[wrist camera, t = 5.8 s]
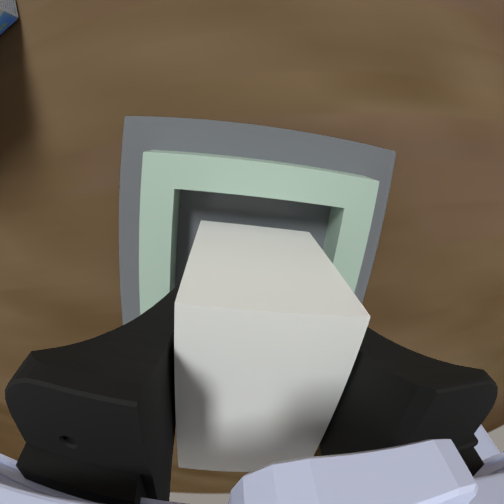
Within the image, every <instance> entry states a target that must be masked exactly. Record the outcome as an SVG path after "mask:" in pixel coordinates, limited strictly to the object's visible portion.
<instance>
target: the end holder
mask: <svg viewBox="0 0 504 504" xmlns="http://www.w3.org/2000/svg"><path fill="white" fill-rule="evenodd" d="M395 156H396V151H392V150H388V149H384V148H380V147H376V146H372V145H367V144H363V143H358V142H354V141H349V140H344V139H339V138H334V137H329V136H324V135H318V134H313V133H307V132H301V131H295V130H289V129H282V128H275V127H268V126H260V125H253V124H244V123H235V122H226V121H215V120H203V119H190V118H173V117H149V116H125V120H124V130H123V142H122V155H121V171H120V194H119V266H120V290H121V306H122V319H123V325H125V324H126V323H128V322H130V321H132V320H134V319H135V318H137V317H138V316H140V315H141V314H143V313H144V312H145V311H147V310H148V309H150V308H151V307H152V306H154V305H155V304H156V303H157V302H159V301H160V300H161V299H162V298H163V297H165V296H166V295H167V294H168V293H169V292H170V291H171V290H172V289H174V288H175V287H176V286H177V285H180V284H181V280H182V277H183V274H184V271H185V268H186V264H187V261H188V258H189V255H190V252H191V249H192V246H193V243H194V240H195V237H196V234H197V231H198V228H199V225H200V222H201V220H203V221H213V222H223V223H233V224H242V225H252V226H261V227H270V228H279V229H288V230H297V231H305V232H310V234H311V235H312V236H313V238H314V239H315V240H316V242H317V243H318V244H319V246H320V247H321V248H322V250H323V251H324V253H325V254H326V255H327V257H328V258H329V259H330V261H331V262H332V263H333V265H334V266H335V267H336V269H337V270H338V272H339V273H340V274H341V276H342V277H343V278H344V280H345V281H346V283H347V284H348V285H349V287H350V288H351V290H352V291H353V292H354V294H355V295H356V297H357V298H358V300H359V301H360V302H361V304H362V302H363V298H364V295H365V291H366V288H367V284H368V281H369V277H370V273H371V269H372V266H373V262H374V258H375V254H376V250H377V246H378V241H379V237H380V233H381V228H382V224H383V219H384V215H385V210H386V205H387V200H388V195H389V190H390V185H391V179H392V174H393V168H394V162H395Z"/></svg>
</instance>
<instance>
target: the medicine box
mask: <svg viewBox="0 0 504 504" xmlns="http://www.w3.org/2000/svg"><path fill="white" fill-rule="evenodd" d="M17 19H18V12H17V7H16V1H15V0H0V34H2V33H3V32H4V31H5V30H6V29H7V28H8V27H9V26H11V25H12V24H13V23H14V22H15V21H16V20H17Z"/></svg>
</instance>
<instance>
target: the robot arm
mask: <svg viewBox="0 0 504 504" xmlns="http://www.w3.org/2000/svg"><path fill="white" fill-rule="evenodd" d="M179 287H180V285H177V286H176V287H175V288H174V289H172V290H171V291H170V292H169V293H168V294H167V295H166V296H165V297H163V298H162V299H161V300H160V301H159V302H157V303H156V304H155V305H154V306H152V307H151V308H150V309H148V310H147V311H145V312H144V313H143V314H141V315H140V316H138V317H137V318H135V319H134V320H132V321H130V322H128V323H126V324H125V325H123V326H121V327H119V328H117V329H115V330H112V331H110V332H107V333H105V334H102V335H100V336H97V337H95V338H92V339H89V340H86V341H83V342H79V343H75V344H71V345H67V346H63V347H57V348H51V349H44V350H37V351H31V353H30V354H29V355H28V356H27V358H26V359H25V360H24V362H23V363H22V364H21V366H20V367H19V369H18V370H17V371H16V373H15V374H14V376H13V377H12V379H11V380H10V381H9V383H8V385H7V387H6V389H5V400H6V403H7V405H8V408H9V411H10V413H11V415H12V417H13V419H14V421H15V423H16V425H17V427H18V429H19V431H20V432H21V434H22V436H23V438H24V440H25V441H26V444H25V447H24V449H23V451H22V453H21V455H20V457H19V459H18V461H17V460H14V459H12V458H10V457H7V456H5V455H3V454H1V453H0V504H185V503H177V502H169V495H170V480H171V466H172V455H173V445H174V435H175V426H176V412H175V379H174V308H175V300H176V297H177V293H178V290H179ZM497 390H498V387H497V385H496V383H495V382H494V381H493V379H492V378H491V377H490V376H489V375H488V374H487V373H486V372H485V371H484V370H481V369H475V368H470V367H464V366H459V365H454V364H450V363H447V362H443V361H439V360H436V359H433V358H430V357H427V356H424V355H422V354H419V353H416V352H414V351H411V350H409V349H407V348H404V347H402V346H400V345H398V344H396V343H394V342H392V341H390V340H388V339H387V338H385V337H383V336H381V335H379V334H378V333H376V332H375V331H373V330H371V329H370V328H368V327H367V329H366V332H365V335H364V338H363V340H362V343H361V346H360V349H359V352H358V354H357V357H356V360H355V362H354V365H353V367H352V370H351V373H350V375H349V378H348V380H347V383H346V385H345V388H344V390H343V392H342V395H341V397H340V400H339V402H338V404H337V407H336V409H335V411H334V414H333V416H332V418H331V420H330V422H329V425H328V427H327V429H326V431H325V433H324V435H323V438H322V440H321V442H320V446H321V453H322V456H314V457H303V458H298V459H292V460H286V461H280V462H273V463H271V464H269V465H267V466H264V467H262V468H259V469H257V470H255V471H252V472H250V473H247V474H246V475H245V476H243V477H242V478H241V479H240V481H239V482H238V483H237V484H236V485H235V486H234V488H233V489H232V490H231V493H230V498H229V503H228V504H504V451H503V452H501V453H500V452H499V450H498V448H497V447H496V445H495V444H494V442H493V441H492V439H491V438H490V436H489V435H488V433H487V432H486V431H485V429H484V428H483V426H482V425H481V424H482V422H483V421H484V419H485V418H486V416H487V415H488V414H489V412H490V410H491V409H492V407H493V405H494V403H495V400H496V397H497Z"/></svg>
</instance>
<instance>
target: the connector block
mask: <svg viewBox="0 0 504 504" xmlns="http://www.w3.org/2000/svg"><path fill="white" fill-rule="evenodd" d="M369 320H370V315H369V314H368V312H367V311H366V310H365V308H364V307H363V305H362V304H361V302H360V301H359V300H358V298H357V297H356V295H355V294H354V292H353V291H352V290H351V288H350V287H349V285H348V284H347V283H346V281H345V280H344V278H343V277H342V276H341V274H340V273H339V272H338V270H337V269H336V267H335V266H334V265H333V263H332V262H331V261H330V259H329V258H328V257H327V255H326V254H325V253H324V251H323V250H322V248H321V247H320V246H319V244H318V243H317V242H316V240H315V239H314V238H313V236H312V235H311V234H310V232H305V231H297V230H288V229H279V228H270V227H261V226H252V225H242V224H233V223H223V222H213V221H203V220H201V222H200V225H199V228H198V231H197V234H196V237H195V240H194V243H193V246H192V249H191V252H190V255H189V258H188V261H187V264H186V268H185V271H184V274H183V277H182V280H181V284H180V287H179V290H178V293H177V297H176V300H175V308H174V379H175V412H176V434H177V451H178V466H179V467H180V468H190V469H201V470H214V471H234V472H252V471H255V470H257V469H259V468H262V467H264V466H267V465H269V464H271V463H273V462H280V461H286V460H292V459H298V458H303V457H313V456H314V454H315V452H316V450H317V448H318V446H319V444H320V442H321V440H322V438H323V435H324V433H325V431H326V429H327V427H328V425H329V422H330V420H331V418H332V416H333V414H334V411H335V409H336V407H337V404H338V402H339V400H340V397H341V395H342V392H343V390H344V388H345V385H346V383H347V380H348V378H349V375H350V373H351V370H352V367H353V365H354V362H355V360H356V357H357V354H358V352H359V349H360V346H361V343H362V340H363V338H364V335H365V332H366V329H367V326H368V323H369Z"/></svg>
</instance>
